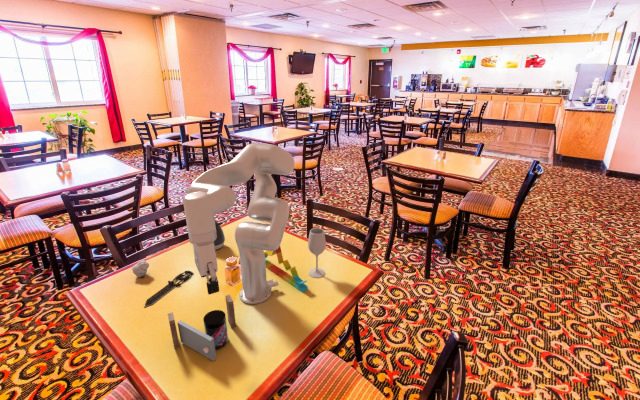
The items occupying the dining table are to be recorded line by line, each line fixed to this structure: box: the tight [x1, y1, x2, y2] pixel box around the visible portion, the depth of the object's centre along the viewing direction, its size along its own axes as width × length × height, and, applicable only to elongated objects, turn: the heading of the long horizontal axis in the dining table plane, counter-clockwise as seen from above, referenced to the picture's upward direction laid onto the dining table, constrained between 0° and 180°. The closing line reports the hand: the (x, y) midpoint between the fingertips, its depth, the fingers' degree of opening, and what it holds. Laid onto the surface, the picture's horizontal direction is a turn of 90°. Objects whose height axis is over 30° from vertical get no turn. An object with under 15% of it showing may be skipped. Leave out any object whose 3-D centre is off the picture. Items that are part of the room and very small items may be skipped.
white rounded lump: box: [131, 259, 150, 278], centre depth 140 cm, size 6×7×7 cm
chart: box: [264, 245, 309, 293], centre depth 139 cm, size 30×3×15 cm, turn 44°
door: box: [176, 320, 217, 362], centre depth 100 cm, size 15×2×8 cm, turn 60°
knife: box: [143, 270, 194, 308], centre depth 133 cm, size 25×6×1 cm, turn 154°
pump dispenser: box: [214, 220, 226, 251], centre depth 162 cm, size 10×10×15 cm
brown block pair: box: [167, 294, 237, 350], centre depth 108 cm, size 20×4×11 cm, turn 120°
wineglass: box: [307, 227, 327, 279], centre depth 140 cm, size 8×8×21 cm
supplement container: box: [203, 309, 229, 350], centre depth 104 cm, size 7×7×10 cm
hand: (209, 283), depth 99 cm, fingers open, 9 cm apart
